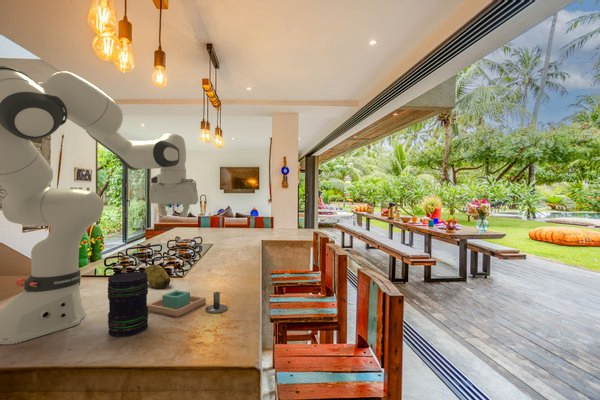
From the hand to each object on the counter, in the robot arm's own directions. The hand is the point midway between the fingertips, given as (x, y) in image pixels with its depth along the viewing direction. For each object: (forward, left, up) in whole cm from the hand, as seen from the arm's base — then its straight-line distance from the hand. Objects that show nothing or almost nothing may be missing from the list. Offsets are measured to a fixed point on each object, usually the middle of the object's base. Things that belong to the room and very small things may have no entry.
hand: (173, 216), depth 117 cm
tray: (-10, -11, -29) cm, 33 cm away
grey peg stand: (-6, -24, -29) cm, 38 cm away
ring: (-10, -11, -28) cm, 32 cm away
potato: (+5, +14, -29) cm, 33 cm away
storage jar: (-28, -11, -29) cm, 42 cm away
